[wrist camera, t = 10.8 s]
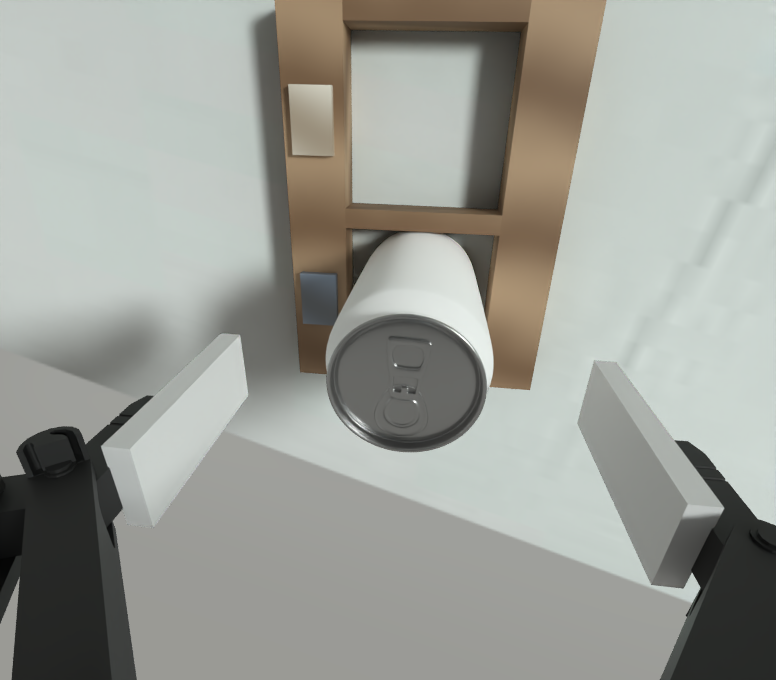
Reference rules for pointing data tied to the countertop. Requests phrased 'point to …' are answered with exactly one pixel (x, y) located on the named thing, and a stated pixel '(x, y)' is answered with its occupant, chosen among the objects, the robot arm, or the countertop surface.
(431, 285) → the can
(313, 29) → the socket board
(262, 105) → the countertop surface
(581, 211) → the countertop surface
